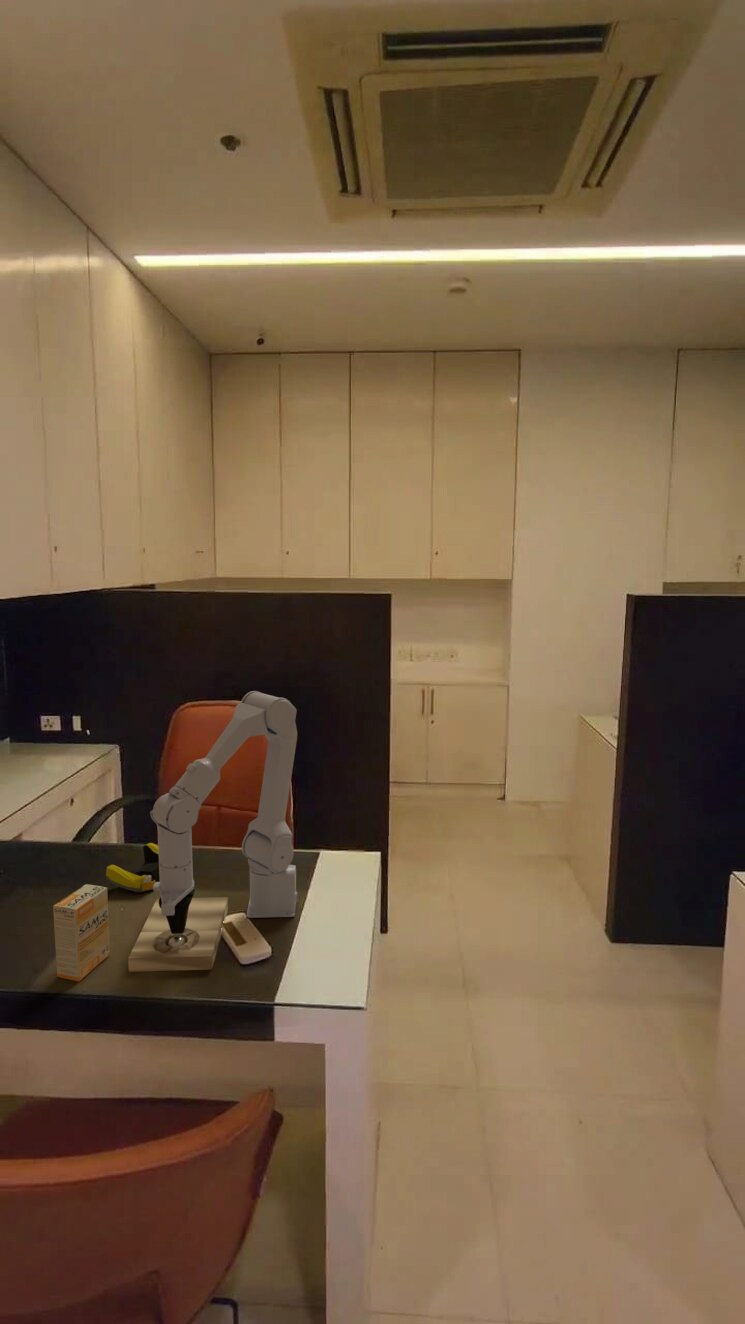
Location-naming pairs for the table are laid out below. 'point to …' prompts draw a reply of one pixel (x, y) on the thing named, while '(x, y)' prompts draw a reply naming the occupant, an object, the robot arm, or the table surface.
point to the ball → (176, 941)
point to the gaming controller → (138, 872)
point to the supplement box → (81, 931)
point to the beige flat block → (197, 934)
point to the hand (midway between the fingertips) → (178, 931)
